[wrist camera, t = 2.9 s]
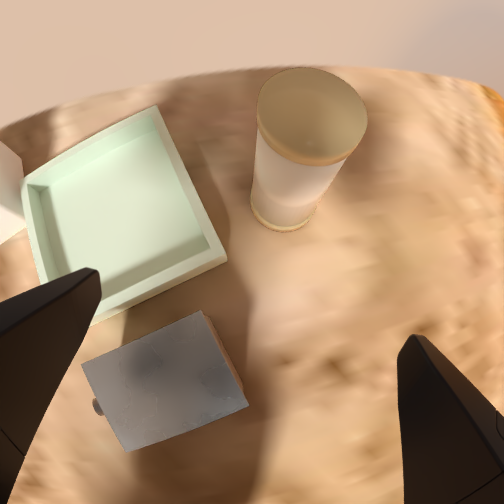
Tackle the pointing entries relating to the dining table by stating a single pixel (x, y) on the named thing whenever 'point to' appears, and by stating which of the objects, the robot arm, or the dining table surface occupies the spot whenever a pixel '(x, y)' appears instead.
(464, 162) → the dining table surface
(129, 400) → the box
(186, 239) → the tray
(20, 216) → the medicine bottle
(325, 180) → the fuse
